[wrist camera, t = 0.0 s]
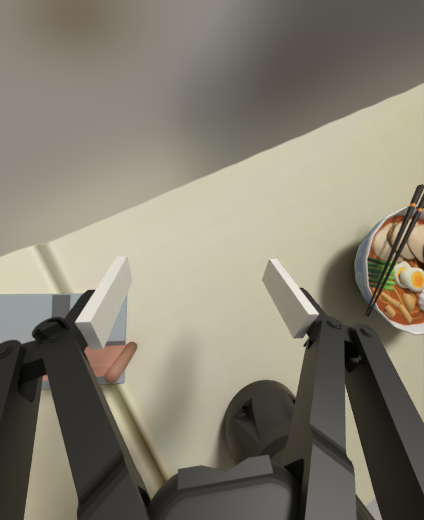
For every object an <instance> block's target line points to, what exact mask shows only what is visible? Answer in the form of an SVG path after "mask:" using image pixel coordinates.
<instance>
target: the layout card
mask: <svg viewBox="0 0 424 520" xmlns="http://www.w3.org/2000/svg"><path fill="white" fill-rule="evenodd" d="M81 295H82V294H0V343H2V342H5V341H8V340H18V341H19V342H20V343H21V344H23V343H27V342H30V341H34V340H35V339H34V338H33V337H32V331H33V330H34V328H35V327H36V326H37V325H38V324H39V323H41V322H43V321H44V320H46V319H49V318H52V317H62V318H65V317H66V316H67V314H68V313H69V311H70V310H71V309H72V308H73V306H74V304H75V303H77V300H78V299H79V298H80V296H81ZM126 316H127V295H126V297H125V299H124V302H123V304H122V306H121V309H120V311H119V314H118V316H117V318H116V321H115V323H114V325H113V328H112V330H111V333H110V335H109V337H108V340H107V342H106V344H105V346H114V345H126ZM87 347H89V346H88V345H87ZM96 378H97V381H98V383H99V385H103V384H109V383H107V382H105V380H104V376H100V377H96ZM124 382H125V369H124V371H123V372H122V374H121V376H120V377H119V379H118V380H117V382H115V383H124ZM115 383H113V384H115ZM42 389H51V388H50V384H49V380H47V381H42V387H41V390H42Z"/></svg>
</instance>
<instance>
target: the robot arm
mask: <svg viewBox="0 0 424 520" xmlns="http://www.w3.org/2000/svg"><path fill="white" fill-rule="evenodd" d="M262 281H263V283H264V285H265V286H266V288H267V290H268V292H269V294H270V296H271V298H272V299H273V301H274V303H275V305H276V307H277V309H278V311H279V312H280V314H281V316H282V318H283V320H284V322H285V323H286V325H287V327H288V329H289V331H290V333H291V335H292V336H293V338H303V337H304V336H305V334H306V333H307V335H308V337H309V338H308V339H307V341H306V342H305V344H304V345H303V346H304V347H305V346H306V349H305V354H304V359H303V365H302V370H301V375H300V380H299V385H298V390H297V396H296V397H295V396H294V394H293V393H292V392H291V391H290V390H289V389H288V388H287V387H286V386H284V385H283V384H281V383H279V382H276V381H271V380H262V381H257V382H254V383H251V384H249V385H248V386H246V387H244V388H243V389H242V390H241V391H240V392H239V393H238V394H237V395H236V396H235V397H234V398H233V400H232V401H231V403H230V405H229V407H228V410H227V412H226V416H225V422H224V431H225V437H226V441H227V446H228V450H229V453H230V455H231V458H232V459H233V461H234V463H235V465H236V466H235V467H233V468H231V469H230V470H228V471H222V470H218V469H214V468H210V467H206V466H202V465H201V466H195V467H189V468H183V469H178V473H177V474H176V475H174V476H172V477H171V478H170V479H169V480H167V481H166V482H165V483H164V484H163V485H162V487H161V488H160V489H159V490H158V492H157V493H156V494H155V496H154V497H153V499H152V500H151V498H150V496H149V494H148V491H147V489H146V487H145V485H144V482H143V480H142V478H141V476H140V474H139V472H138V470H137V468H136V466H135V464H134V462H133V460H132V458H131V455H130V453H129V451H128V449H127V446H126V444H125V442H124V439H123V437H122V435H121V433H120V430H119V428H118V426H117V424H116V421H115V419H114V417H113V415H112V412H111V410H110V408H109V405H108V403H107V401H106V399H105V396H104V394H103V392H102V390H101V387H100V385H99V383H98V381H97V378H96V376H95V374H94V371H93V369H92V367H91V365H90V362H89V360H88V358H87V356H86V353H85V352H84V351H85V349H86V347H87V345H88V346H89V348H90V350H95V349H104V347H105V344H106V342H107V340H108V337H109V335H110V333H111V330H112V328H113V325H114V323H115V321H116V318H117V316H118V314H119V311H120V309H121V306H122V304H123V302H124V299H125V297H126V295H127V292H128V290H129V287H130V285H131V283H132V276H131V271H130V266H129V262H128V257H127V256H117V258H116V259H115V261H114V262H113V264H112V266H111V267H110V269H109V270H108V272H107V273H106V275H105V276H104V278H103V279H102V281H101V283H100V284H99V286H98V287H97V289H96V290H87V291H86V292H85V293H83V294H82V295H81V296H80V298H79V299H78V300H77V303H75V304H74V306H73V308H72V309H71V310H70V311H69V313H68V314H67V316H66V317H65V318H62V317H52V318H49V319H46V320H44V321H43V322H41V323H39V324H38V325H37V326H36V327H35V328H34V330H33V331H32V337H33V338H34V339H35V340H34V341H30V342H27V343H23V344H21V343H20V342H19V341H18V340H8V341H5V342H2V343H0V520H24V513H25V505H26V498H27V490H28V483H29V476H30V468H31V461H32V454H33V446H34V439H35V432H36V424H37V417H38V409H39V402H40V395H41V387H42V380H43V376H44V375H47V376H48V380H49V384H50V388H51V392H52V396H53V400H54V404H55V408H56V412H57V416H58V420H59V424H60V428H61V432H62V436H63V440H64V444H65V448H66V452H67V456H68V460H69V464H70V468H71V472H72V476H73V479H74V483H75V487H76V491H77V496H78V510H77V519H78V520H375V519H374V518H373V516H372V515H371V514H370V512H369V511H368V510H367V508H366V507H365V506H364V504H363V503H362V502H361V500H360V499H359V498H358V496H357V495H356V493H355V474H354V467H353V464H352V462H351V461H350V460H349V458H348V457H347V455H346V435H345V385H346V389H347V393H348V396H349V400H350V404H351V408H352V411H353V415H354V419H355V422H356V426H357V430H358V434H359V437H360V441H361V445H362V449H363V452H364V456H365V460H366V464H367V467H368V471H369V475H370V478H371V482H372V486H373V490H374V493H375V497H376V500H377V504H378V507H379V510H380V514H381V517H382V519H383V520H424V423H423V421H422V419H421V417H420V415H419V413H418V411H417V410H416V408H415V406H414V404H413V402H412V400H411V398H410V396H409V394H408V392H407V390H406V388H405V387H404V385H403V383H402V381H401V379H400V377H399V375H398V373H397V371H396V369H395V367H394V366H393V364H392V362H391V360H390V358H389V356H388V354H387V352H386V350H385V348H384V346H383V344H382V343H381V341H380V339H379V337H378V335H377V334H376V332H374V331H373V330H372V329H371V328H369V327H368V326H366V325H363V324H356V325H355V326H354V327H353V328H352V327H348V326H344V325H342V324H341V323H340V322H339V321H338V320H336V319H334V318H332V317H329V316H327V315H326V314H325V312H324V311H323V310H322V309H321V308H320V306H319V305H318V304H317V303H316V302H315V300H314V299H313V298H312V296H311V295H310V294H309V293H308V292H307V291H306V290H305V289H303V288H299V287H298V286H297V285H296V283H295V282H294V281H293V279H292V278H291V277H290V276H289V274H288V273H287V272H286V270H285V269H284V268H283V266H282V265H281V264H280V263H279V261H278V260H277V259H269V261H268V264H267V267H266V270H265V273H264V276H263V279H262Z"/></svg>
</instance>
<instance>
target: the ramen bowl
mask: <svg viewBox="0 0 424 520" xmlns="http://www.w3.org/2000/svg"><path fill="white" fill-rule="evenodd" d="M423 189H424V185H423V184H422V185H419V186H417V188H416V191H415V193H414V196H413V198H412V200H411V203H410V206H409V207H404V208H402V209H400V210H398V211H396V212H394V213H392V214H390V215H389V216H387V217H385V218H384V219H383V220H381V221H380V222H378V223H377V224H376V225H375V226H374V227H373V229H372V230H371V231H370V232H369V234H368V235H367V236H366V237H365V239H364V240H363V241H362V242H361V244H360V245H359V248H358V251H357V255H356V259H355V262H354V264H355V280H356V282H357V285H358V287H359V289H360V291H361V294H362V296H363V297H364V299H365V300H366V301H367V302H368V303H369V305H368V308H367V310H366V313H365V315H366V314H367V312H368V310H369V308H370V306H372V307H371V309H370V311H369V314H368V316H367V317H369V315H370V313H371V311H372V309H373V308H374V309H375V310H376V311H377V313H378V314H379V315H380V316H381V317H382V318H384V319H385V320H386V321H387V322H388V323H389V324H391V325H392V326H393V327H395V328H397V329H400V330H403V331H405V332H408V333H411V334H414V335H422V334H424V194H423V196H422V198H421V201H420V203H419V205H418V207H415V206H416V204H417V202H418V200H419V198H420V196H421V193H422V191H423Z"/></svg>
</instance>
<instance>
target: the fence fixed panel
mask: <svg viewBox="0 0 424 520" xmlns="http://www.w3.org/2000/svg"><path fill="white" fill-rule="evenodd" d="M136 349H137V344H136V343H135V342H130V343H128V344H127V345H114V346H105V347H104V349H95V350H90V348H89V347H86V349H85V351H84V352H85V353H86V356H87V358H88V360H89V362H90V365H91V367H92V369H93V371H94V374H95V376H96V377H100V376H104V380H105V382H107V383H109V384H113V383H115V382H117V380H118V379H119V377H120V376H121V374H122V372H123V371H124V369H125V367H126V366H127V364H128V363H129V361H130V359H131V358H132V356H133V354H134V353H135V351H136ZM47 380H48V376H47V375H44V376H43V380H42V381H47Z"/></svg>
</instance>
